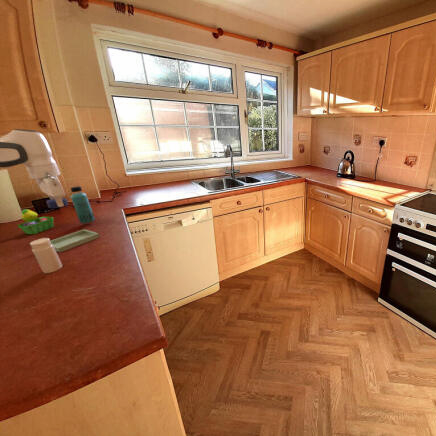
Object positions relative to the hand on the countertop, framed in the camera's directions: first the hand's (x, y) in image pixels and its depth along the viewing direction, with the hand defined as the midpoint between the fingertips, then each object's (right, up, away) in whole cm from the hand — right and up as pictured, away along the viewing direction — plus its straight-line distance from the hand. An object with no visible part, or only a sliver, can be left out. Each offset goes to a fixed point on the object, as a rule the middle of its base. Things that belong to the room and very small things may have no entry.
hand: (58, 204), depth 102 cm
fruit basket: (-29, -12, +20) cm, 38 cm away
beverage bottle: (-9, -9, +27) cm, 29 cm away
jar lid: (0, +2, -1) cm, 2 cm away
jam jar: (+11, -24, -14) cm, 30 cm away
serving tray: (0, -16, +7) cm, 18 cm away
